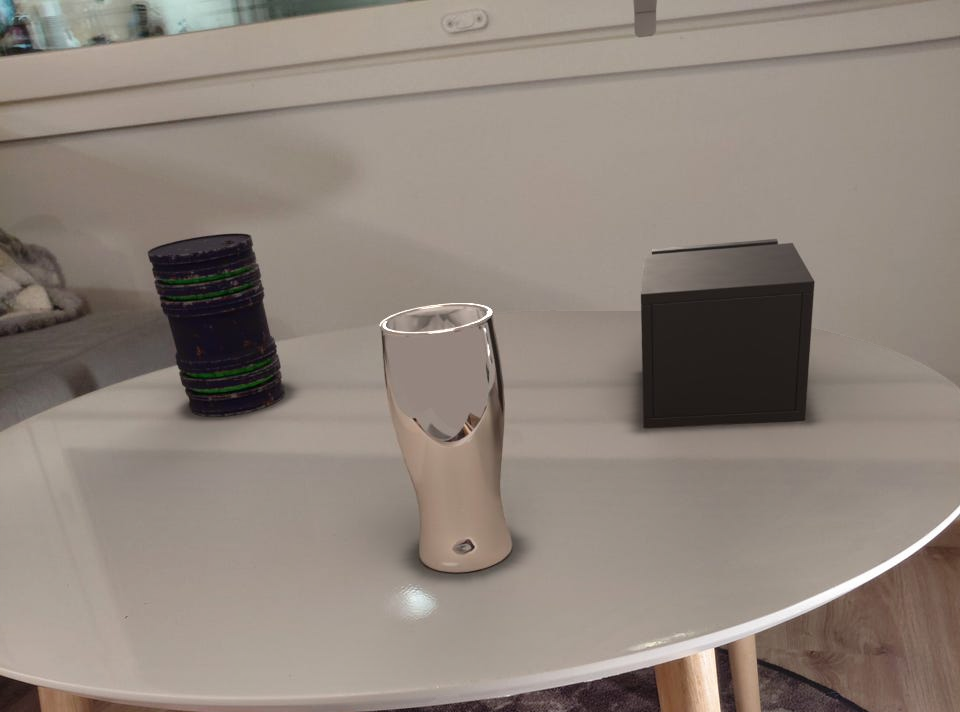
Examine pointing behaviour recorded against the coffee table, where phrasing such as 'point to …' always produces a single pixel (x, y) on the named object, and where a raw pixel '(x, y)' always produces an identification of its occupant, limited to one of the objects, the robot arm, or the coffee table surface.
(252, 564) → the coffee table surface
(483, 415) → the beer glass
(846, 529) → the coffee table surface
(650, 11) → the robot arm
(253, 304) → the storage jar
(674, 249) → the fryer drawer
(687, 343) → the cabinet
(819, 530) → the coffee table surface
